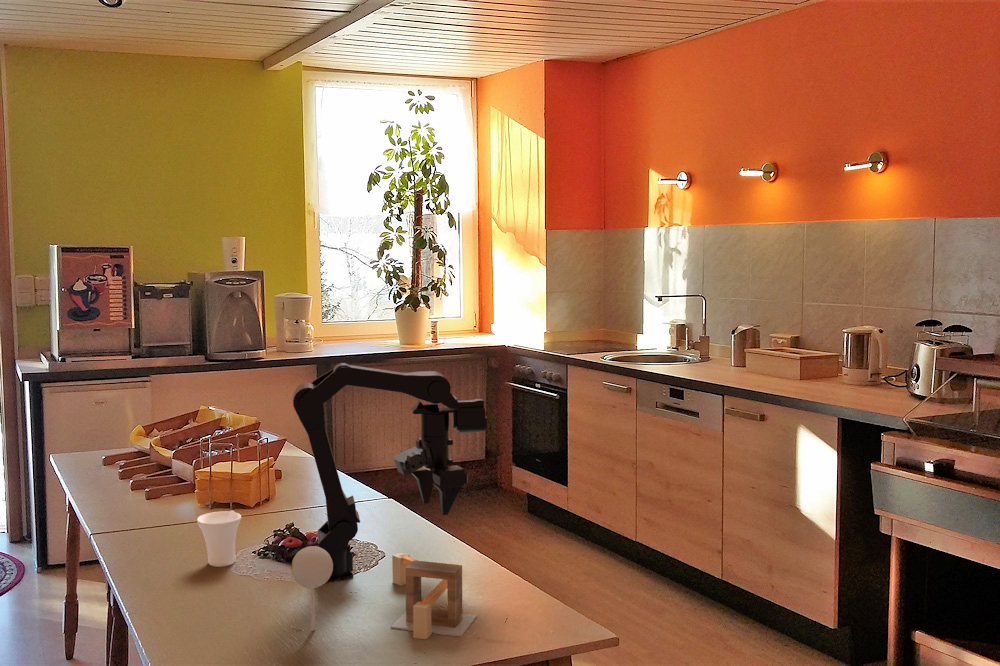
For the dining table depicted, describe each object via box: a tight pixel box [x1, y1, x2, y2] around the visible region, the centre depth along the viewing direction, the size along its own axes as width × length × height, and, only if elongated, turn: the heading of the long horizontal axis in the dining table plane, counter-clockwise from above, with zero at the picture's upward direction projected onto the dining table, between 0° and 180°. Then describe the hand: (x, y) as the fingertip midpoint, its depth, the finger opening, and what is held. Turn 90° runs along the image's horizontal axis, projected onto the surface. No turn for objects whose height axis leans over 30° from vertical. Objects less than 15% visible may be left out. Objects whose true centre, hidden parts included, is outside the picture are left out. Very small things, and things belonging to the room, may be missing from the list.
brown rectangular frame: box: [405, 559, 463, 628], centre depth 176 cm, size 4×9×10 cm, turn 74°
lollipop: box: [290, 545, 333, 632], centre depth 172 cm, size 7×7×15 cm
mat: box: [390, 611, 477, 638], centre depth 176 cm, size 9×13×1 cm
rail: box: [391, 552, 447, 640], centre depth 183 cm, size 13×28×6 cm, turn 29°
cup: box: [196, 509, 242, 568], centre depth 207 cm, size 9×9×10 cm
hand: (435, 509), depth 202 cm, fingers open, 9 cm apart
